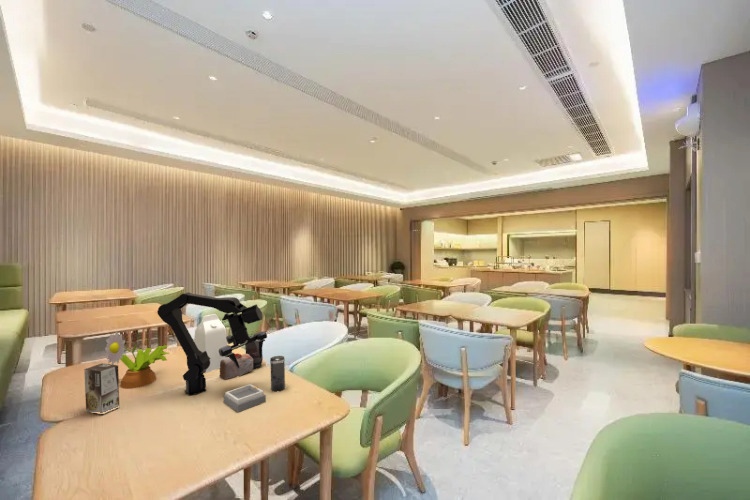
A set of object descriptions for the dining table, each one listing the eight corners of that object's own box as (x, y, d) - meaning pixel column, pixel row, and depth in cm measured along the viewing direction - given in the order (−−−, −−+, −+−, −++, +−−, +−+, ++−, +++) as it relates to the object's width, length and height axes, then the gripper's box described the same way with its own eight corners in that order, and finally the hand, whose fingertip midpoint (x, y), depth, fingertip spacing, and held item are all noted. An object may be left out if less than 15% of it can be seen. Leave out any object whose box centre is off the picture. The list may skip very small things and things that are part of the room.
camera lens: (265, 364, 172) (265, 334, 172) (258, 370, 164) (258, 339, 164) (250, 364, 173) (249, 334, 173) (242, 369, 165) (242, 339, 165)
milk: (216, 361, 178) (215, 311, 178) (228, 365, 171) (227, 314, 171) (193, 368, 168) (191, 315, 168) (205, 373, 162) (204, 318, 161)
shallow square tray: (237, 412, 123) (237, 400, 122) (223, 402, 131) (223, 391, 131) (265, 401, 131) (265, 390, 131) (250, 392, 139) (250, 382, 139)
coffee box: (120, 407, 128) (119, 365, 127) (101, 416, 122) (100, 371, 121) (103, 404, 131) (102, 362, 130) (84, 412, 125) (83, 368, 124)
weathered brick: (246, 368, 167) (246, 348, 167) (254, 372, 162) (254, 351, 161) (218, 377, 157) (217, 355, 157) (226, 381, 151) (225, 359, 151)
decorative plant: (93, 388, 146) (91, 330, 146) (149, 368, 168) (147, 318, 168) (135, 397, 136) (133, 335, 136) (188, 375, 158) (187, 322, 158)
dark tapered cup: (275, 393, 138) (274, 361, 138) (268, 389, 142) (267, 358, 142) (287, 388, 142) (287, 357, 142) (280, 384, 146) (279, 354, 146)
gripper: (254, 318, 153) (264, 351, 154) (210, 335, 142) (222, 371, 143) (262, 318, 145) (273, 353, 145) (216, 336, 133) (228, 374, 134)
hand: (249, 362), depth 142 cm, fingers open, 9 cm apart
